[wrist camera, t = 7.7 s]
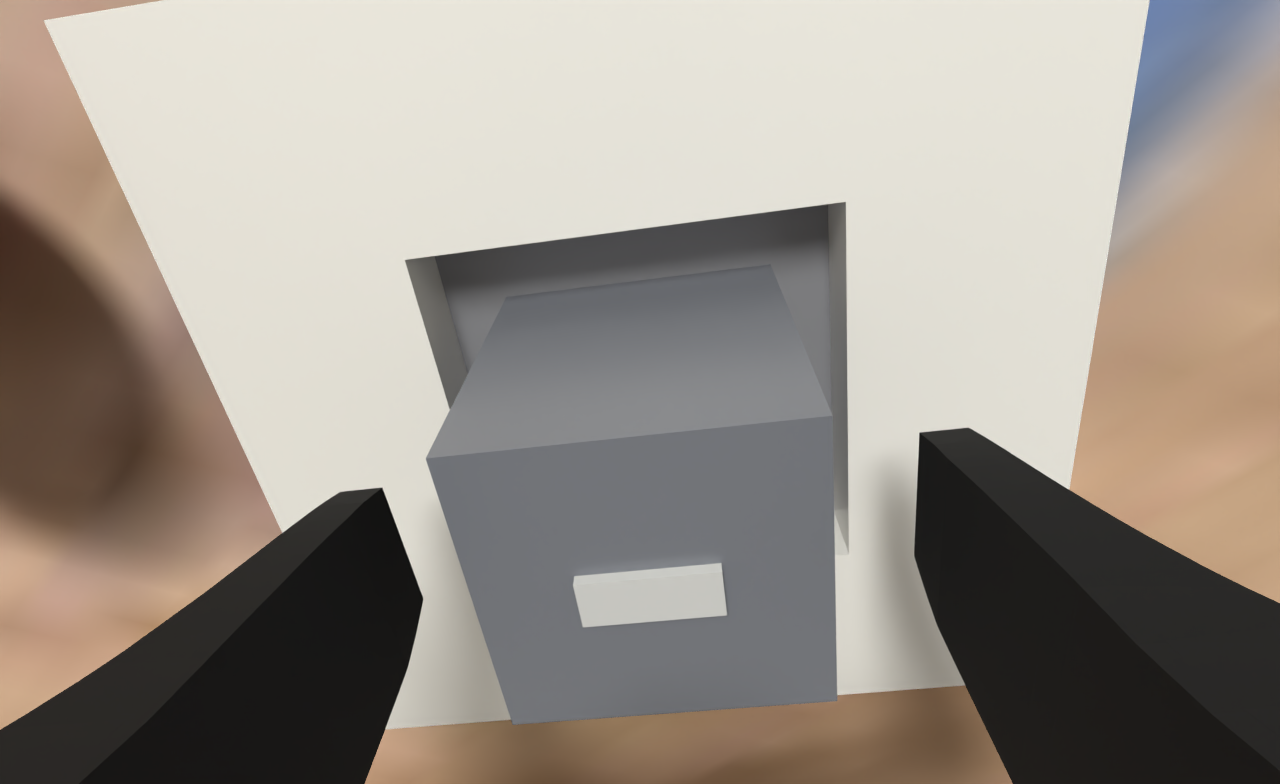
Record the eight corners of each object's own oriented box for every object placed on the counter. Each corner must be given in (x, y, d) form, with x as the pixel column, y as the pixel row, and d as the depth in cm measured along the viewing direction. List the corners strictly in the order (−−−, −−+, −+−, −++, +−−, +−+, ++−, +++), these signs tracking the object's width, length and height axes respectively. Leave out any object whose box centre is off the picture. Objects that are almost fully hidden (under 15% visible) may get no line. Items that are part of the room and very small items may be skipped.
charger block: (770, 264, 12) (836, 423, 8) (782, 484, 14) (840, 711, 10) (506, 296, 13) (421, 466, 8) (556, 506, 15) (510, 734, 10)
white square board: (1103, -147, 10) (1177, -170, 8) (1005, 620, 16) (1038, 679, 15) (122, 16, 11) (43, 21, 10) (397, 670, 18) (374, 730, 16)
